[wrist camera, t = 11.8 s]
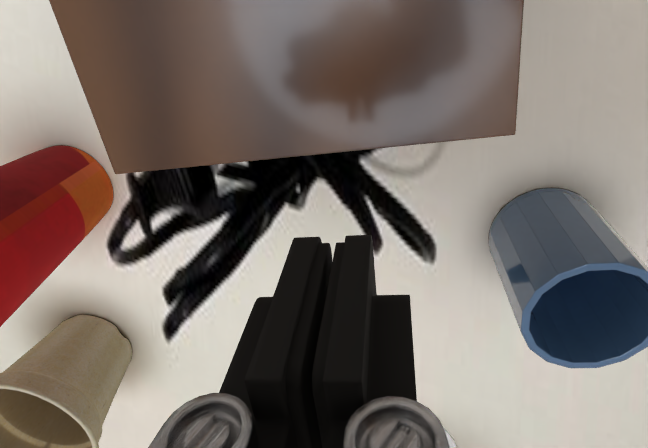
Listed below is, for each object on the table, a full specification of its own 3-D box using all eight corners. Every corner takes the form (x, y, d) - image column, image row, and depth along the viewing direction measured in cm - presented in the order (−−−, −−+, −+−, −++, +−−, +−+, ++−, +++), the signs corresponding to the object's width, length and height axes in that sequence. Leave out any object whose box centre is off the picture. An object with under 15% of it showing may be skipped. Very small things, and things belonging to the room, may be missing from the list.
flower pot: (166, 383, 39) (116, 480, 32) (68, 383, 41) (-2, 476, 33) (131, 295, 35) (62, 385, 27) (22, 299, 36) (-71, 385, 29)
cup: (605, 183, 27) (684, 259, 20) (590, 273, 30) (653, 367, 23) (490, 192, 28) (526, 266, 21) (486, 278, 31) (517, 369, 24)
